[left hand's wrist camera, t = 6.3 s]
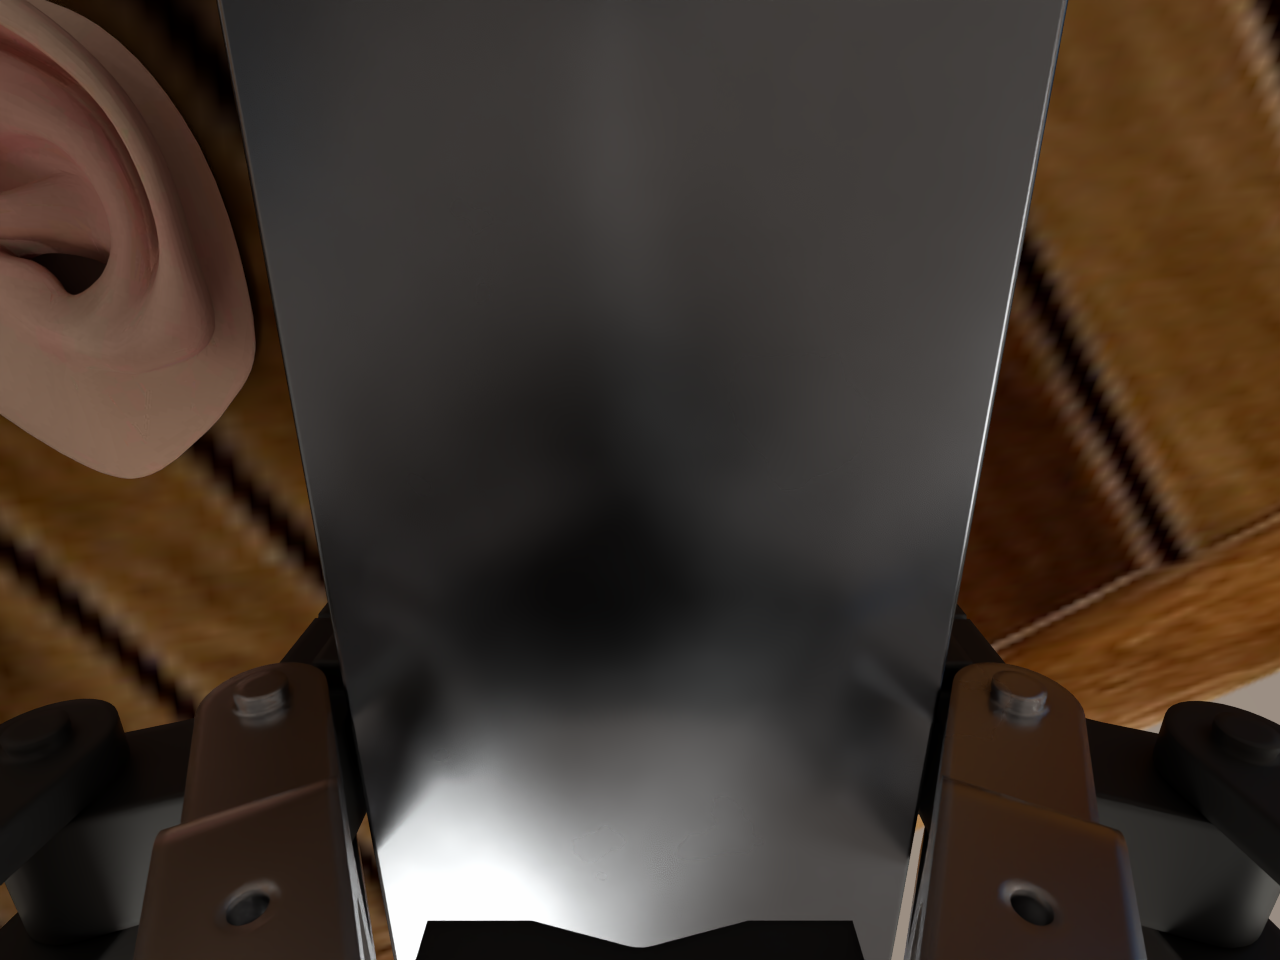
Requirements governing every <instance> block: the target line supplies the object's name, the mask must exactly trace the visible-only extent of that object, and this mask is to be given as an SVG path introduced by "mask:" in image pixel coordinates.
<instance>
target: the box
mask: <svg viewBox="0 0 1280 960" xmlns="http://www.w3.org/2000/svg"><path fill="white" fill-rule="evenodd" d="M216 2H217V7H218V12H219V18H220V23H221V29H222V34H223V39H224V45H225V50H226V56H227V61H228V66H229V72H230V77H231V83H232V88H233V93H234V99H235V104H236V109H237V115H238V120H239V126H240V131H241V136H242V142H243V147H244V153H245V158H246V163H247V169H248V174H249V180H250V185H251V190H252V196H253V201H254V207H255V212H256V217H257V223H258V228H259V234H260V239H261V244H262V250H263V255H264V260H265V266H266V271H267V277H268V282H269V287H270V293H271V298H272V304H273V309H274V314H275V320H276V325H277V331H278V336H279V341H280V347H281V352H282V358H283V363H284V368H285V374H286V379H287V385H288V390H289V395H290V401H291V406H292V411H293V417H294V422H295V428H296V433H297V438H298V444H299V449H300V455H301V460H302V465H303V471H304V476H305V482H306V487H307V492H308V498H309V503H310V509H311V514H312V519H313V525H314V530H315V536H316V541H317V546H318V552H319V557H320V562H321V568H322V573H323V579H324V584H325V589H326V595H327V600H328V606H329V611H330V616H331V622H332V627H333V633H334V638H335V643H336V649H337V654H338V660H339V665H340V670H341V676H342V681H343V687H344V692H345V697H346V703H347V708H348V713H349V719H350V724H351V730H352V735H353V740H354V746H355V751H356V757H357V762H358V767H359V773H360V778H361V784H362V789H363V794H364V800H365V805H366V811H367V816H368V821H369V827H370V832H371V838H372V843H373V848H374V854H375V859H376V864H377V870H378V875H379V881H380V886H381V891H382V897H383V902H384V908H385V913H386V918H387V924H388V929H389V935H390V940H391V945H392V951H393V956H394V960H416V957H417V953H418V950H419V947H420V943H421V940H422V937H423V933H424V930H425V927H426V923H427V920H532V921H536V922H540V923H543V924H547V925H551V926H555V927H558V928H562V929H566V930H570V931H574V932H577V933H581V934H585V935H589V936H593V937H596V938H600V939H604V940H608V941H611V942H615V943H619V944H623V945H627V946H632V947H648V946H653V945H657V944H661V943H665V942H669V941H672V940H676V939H680V938H684V937H687V936H691V935H695V934H699V933H703V932H706V931H710V930H714V929H718V928H722V927H725V926H729V925H733V924H737V923H740V922H744V921H748V920H853V923H854V927H855V930H856V933H857V937H858V940H859V943H860V947H861V950H862V953H863V957H864V960H891V957H892V952H893V946H894V941H895V935H896V930H897V925H898V919H899V914H900V908H901V903H902V897H903V892H904V887H905V881H906V876H907V870H908V865H909V860H910V854H911V849H912V843H913V838H914V833H915V827H916V822H917V816H918V811H919V805H920V800H921V795H922V789H923V784H924V778H925V773H926V768H927V762H928V757H929V751H930V746H931V740H932V735H933V730H934V724H935V719H936V713H937V708H938V703H939V697H940V692H941V686H942V681H943V675H944V670H945V665H946V659H947V654H948V648H949V643H950V638H951V632H952V627H953V621H954V616H955V610H956V605H957V600H958V594H959V589H960V583H961V578H962V573H963V567H964V562H965V556H966V551H967V545H968V540H969V535H970V529H971V524H972V518H973V513H974V508H975V502H976V497H977V491H978V486H979V480H980V475H981V470H982V464H983V459H984V453H985V448H986V443H987V437H988V432H989V426H990V421H991V415H992V410H993V405H994V399H995V394H996V388H997V383H998V378H999V372H1000V367H1001V361H1002V356H1003V350H1004V345H1005V340H1006V334H1007V329H1008V323H1009V318H1010V313H1011V307H1012V302H1013V296H1014V291H1015V285H1016V280H1017V275H1018V269H1019V264H1020V258H1021V253H1022V248H1023V242H1024V237H1025V231H1026V226H1027V220H1028V215H1029V210H1030V204H1031V199H1032V193H1033V188H1034V183H1035V177H1036V172H1037V166H1038V161H1039V156H1040V150H1041V145H1042V139H1043V134H1044V128H1045V123H1046V118H1047V112H1048V107H1049V101H1050V96H1051V91H1052V85H1053V80H1054V74H1055V69H1056V63H1057V58H1058V53H1059V47H1060V42H1061V36H1062V31H1063V26H1064V20H1065V15H1066V9H1067V4H1068V0H216Z"/></svg>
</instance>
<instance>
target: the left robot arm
mask: <svg viewBox="0 0 1280 960" xmlns="http://www.w3.org/2000/svg"><path fill="white" fill-rule="evenodd" d="M366 813H367V811H366V805H365V800H364V794H363V789H362V784H361V778H360V773H359V767H358V762H357V757H356V751H355V746H354V740H353V735H352V730H351V724H350V719H349V713H348V708H347V703H346V697H345V692H344V687H343V681H342V676H341V670H340V665H339V660H338V654H337V649H336V643H335V638H334V633H333V627H332V622H331V616H330V611H329V606H328V603H327V604H326V605H325V607H324V608H323V609H322V610H321V612H320V613H319V616H318V618H315V619H314V620H313V622H312V623H311V624H310V625H309V627H308V628H307V629H306V630H305V632H304V633H303V634H302V635H301V637H300V638H299V639H298V640H297V642H296V643H295V644H294V645H293V647H292V648H291V649H290V650H289V652H288V653H287V654H286V655H285V657H284V658H283V659H282V660H281V662H280V663H276V664H270V665H265V666H261V667H258V668H254V669H251V670H248V671H246V672H243V673H241V674H239V675H236V676H234V677H232V678H230V679H229V680H227V681H225V682H223V683H222V684H220V685H219V686H217V687H216V688H215V689H213V690H212V691H211V692H210V693H209V694H208V695H207V696H206V697H205V698H204V699H203V700H202V702H201V703H200V705H199V706H198V708H197V711H196V714H195V718H193V719H189V720H185V721H180V722H175V723H170V724H165V725H160V726H155V727H150V728H145V729H140V730H136V731H131V732H126V733H124V730H123V727H122V724H121V721H120V718H119V715H118V712H117V710H116V708H115V707H114V706H113V705H112V704H110V703H108V702H106V701H103V700H97V699H76V700H69V701H63V702H58V703H54V704H50V705H46V706H43V707H40V708H37V709H34V710H31V711H29V712H26V713H24V714H21V715H19V716H17V717H14V718H12V719H10V720H8V721H6V722H4V723H2V724H1V725H0V885H2V884H3V883H4V882H5V884H6V886H7V889H8V891H9V893H10V895H11V898H12V900H13V902H14V904H15V907H16V909H17V911H18V913H17V914H16V915H14V916H13V917H12V918H11V919H10V920H9V921H8V922H7V923H6V924H5V925H4V926H3V927H2V928H1V929H0V960H376V955H375V948H374V942H373V935H372V928H371V922H370V915H369V908H368V902H367V895H366V888H365V882H364V875H363V868H362V862H361V855H360V849H359V844H358V839H357V832H358V829H359V827H360V825H361V823H362V821H363V818H364V816H365V814H366ZM918 814H919V815H920V817H921V819H922V821H923V823H924V826H925V828H924V833H923V839H922V844H921V849H920V855H919V862H918V868H917V875H916V882H915V889H914V895H913V902H912V909H911V915H910V922H909V928H908V935H907V942H906V948H905V955H904V960H1280V929H1279V928H1278V927H1277V926H1276V925H1275V924H1274V923H1273V922H1272V921H1271V920H1270V919H1269V916H1270V913H1271V911H1272V909H1273V907H1274V905H1275V902H1276V900H1277V898H1278V896H1279V894H1280V725H1278V724H1277V723H1275V722H1272V721H1270V720H1268V719H1266V718H1264V717H1262V716H1259V715H1256V714H1254V713H1251V712H1249V711H1246V710H1242V709H1239V708H1236V707H1232V706H1228V705H1224V704H1219V703H1213V702H1205V701H1187V702H1181V703H1178V704H1175V705H1173V706H1171V707H1170V708H1169V709H1168V710H1167V712H1166V713H1165V716H1164V719H1163V722H1162V725H1161V728H1160V732H1159V734H1157V733H1152V732H1148V731H1143V730H1138V729H1133V728H1128V727H1123V726H1118V725H1113V724H1108V723H1103V722H1099V721H1095V720H1091V719H1087V718H1085V714H1084V711H1083V708H1082V706H1081V705H1080V703H1079V702H1078V700H1077V699H1076V698H1075V697H1074V696H1073V695H1072V694H1071V693H1070V692H1069V691H1068V690H1067V689H1065V688H1064V687H1063V686H1061V685H1060V684H1058V683H1057V682H1055V681H1053V680H1051V679H1050V678H1048V677H1046V676H1044V675H1041V674H1039V673H1037V672H1034V671H1032V670H1029V669H1026V668H1022V667H1019V666H1015V665H1010V664H1005V662H1004V661H1003V660H1002V659H1001V658H1000V656H999V655H998V654H997V653H996V651H995V650H994V649H993V648H992V646H991V645H990V644H989V643H988V641H987V640H986V639H985V638H984V636H983V635H982V634H981V633H980V632H979V630H978V629H977V628H976V627H975V625H974V624H973V623H972V622H971V620H970V619H966V614H965V613H964V612H963V611H962V609H961V608H960V607H959V606H958V604H957V605H956V610H955V616H954V621H953V627H952V632H951V638H950V643H949V648H948V654H947V659H946V665H945V670H944V675H943V681H942V686H941V692H940V697H939V703H938V708H937V713H936V719H935V724H934V730H933V735H932V740H931V746H930V751H929V757H928V762H927V768H926V773H925V778H924V784H923V789H922V795H921V800H920V805H919V811H918ZM416 960H864V957H863V953H862V950H861V947H860V943H859V940H858V937H857V933H856V930H855V927H854V923H853V920H748V921H744V922H740V923H737V924H733V925H729V926H725V927H722V928H718V929H714V930H710V931H706V932H703V933H699V934H695V935H691V936H687V937H684V938H680V939H676V940H672V941H669V942H665V943H661V944H657V945H653V946H648V947H632V946H627V945H623V944H619V943H615V942H611V941H608V940H604V939H600V938H596V937H593V936H589V935H585V934H581V933H577V932H574V931H570V930H566V929H562V928H558V927H555V926H551V925H547V924H543V923H540V922H536V921H532V920H427V923H426V927H425V930H424V933H423V937H422V940H421V943H420V947H419V950H418V953H417V957H416Z"/></svg>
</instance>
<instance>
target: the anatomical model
mask: <svg viewBox="0 0 1280 960" xmlns="http://www.w3.org/2000/svg"><path fill="white" fill-rule="evenodd" d="M255 343H256V342H255V331H254V320H253V313H252V308H251V303H250V297H249V292H248V288H247V283H246V279H245V275H244V271H243V267H242V263H241V259H240V255H239V251H238V247H237V244H236V240H235V237H234V233H233V230H232V227H231V223H230V220H229V217H228V214H227V211H226V208H225V206H224V203H223V200H222V198H221V195H220V192H219V189H218V187H217V184H216V181H215V179H214V177H213V175H212V172H211V170H210V168H209V166H208V164H207V162H206V159H205V157H204V155H203V153H202V151H201V149H200V146H199V145H198V143H197V141H196V139H195V138H194V136H193V134H192V133H191V131H190V129H189V127H188V126H187V124H186V122H185V121H184V119H183V117H182V116H181V114H180V113H179V111H178V110H177V108H176V107H175V105H174V104H173V102H172V101H171V100H170V98H169V97H168V95H167V94H166V93H165V91H164V90H163V89H162V88H161V86H160V85H159V84H158V82H157V81H156V80H155V79H154V77H153V76H152V75H151V74H150V73H149V72H148V70H147V69H146V68H145V67H144V66H143V65H142V64H141V63H140V61H139V60H138V59H137V58H136V57H135V56H134V55H133V54H132V53H131V52H129V51H128V50H127V49H126V48H125V47H124V46H123V45H122V44H121V43H120V42H119V41H118V40H116V39H115V38H114V37H113V36H111V35H110V34H109V33H107V32H106V31H105V30H104V29H102V28H101V27H100V26H98V25H97V24H95V23H93V22H92V21H90V20H89V19H87V18H85V17H84V16H81V15H79V14H77V13H75V12H73V11H71V10H69V9H67V8H64V7H62V6H59V5H57V4H54V3H51V2H49V1H46V0H0V414H1V415H2V416H4V417H5V418H7V419H8V420H10V421H11V422H13V423H14V424H16V425H17V426H19V427H20V428H22V429H23V430H25V431H26V432H27V433H29V434H31V435H32V436H34V437H35V438H37V439H39V440H40V441H42V442H44V443H45V444H47V445H49V446H50V447H52V448H54V449H55V450H57V451H59V452H60V453H62V454H64V455H66V456H68V457H70V458H72V459H73V460H75V461H77V462H79V463H81V464H83V465H85V466H87V467H90V468H92V469H94V470H96V471H99V472H101V473H105V474H108V475H112V476H116V477H120V478H140V477H144V476H147V475H151V474H153V473H155V472H157V471H160V470H161V469H163V468H164V467H165V466H167V465H168V464H170V463H171V462H173V461H174V460H176V459H177V458H178V457H179V456H180V455H182V454H183V453H184V452H185V451H186V450H187V449H188V448H189V447H190V446H191V445H193V444H194V443H195V442H196V441H197V440H198V439H199V438H200V437H201V436H202V435H204V434H205V433H206V432H207V431H208V430H209V429H210V428H211V427H212V426H213V425H214V424H215V423H216V422H217V421H218V419H219V418H220V417H221V416H222V414H223V413H224V412H225V410H226V409H227V407H228V406H229V405H230V403H231V402H232V401H233V399H234V398H235V396H236V395H237V394H238V392H239V391H240V390H241V388H242V387H243V385H244V383H245V382H246V380H247V378H248V376H249V374H250V371H251V369H252V365H253V361H254V356H255Z"/></svg>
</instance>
